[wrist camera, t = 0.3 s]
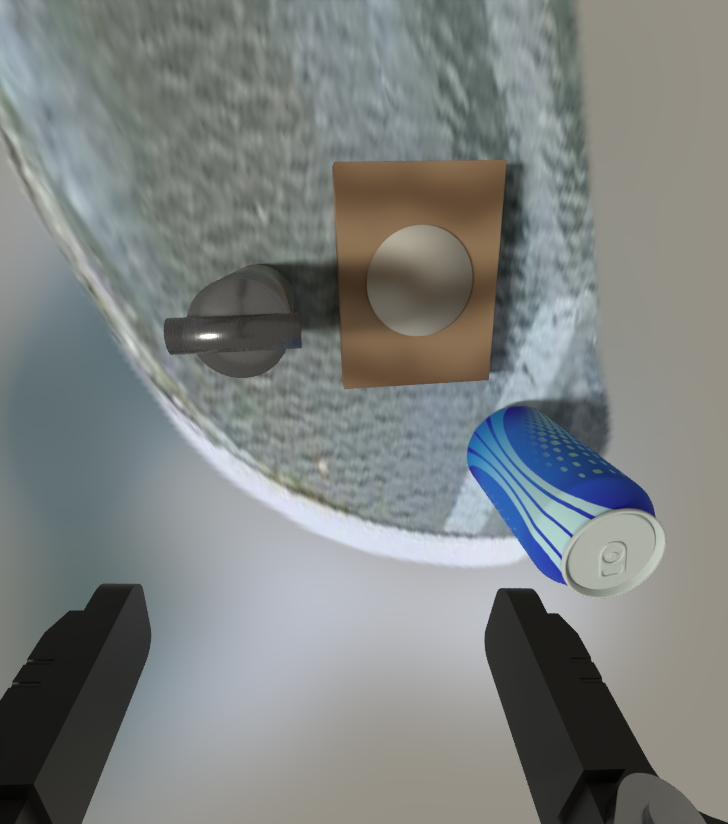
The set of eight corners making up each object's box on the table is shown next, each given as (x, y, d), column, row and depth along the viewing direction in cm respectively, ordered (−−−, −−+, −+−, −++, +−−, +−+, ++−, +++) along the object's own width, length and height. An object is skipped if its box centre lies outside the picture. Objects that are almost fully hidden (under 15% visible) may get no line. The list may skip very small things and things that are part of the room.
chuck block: (332, 166, 31) (334, 161, 29) (495, 164, 33) (507, 159, 31) (342, 381, 37) (344, 389, 35) (479, 373, 39) (489, 380, 36)
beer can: (445, 462, 41) (521, 587, 27) (494, 385, 39) (608, 476, 24) (514, 493, 44) (621, 625, 29) (565, 423, 41) (708, 526, 27)
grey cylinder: (213, 265, 33) (153, 284, 20) (300, 262, 33) (295, 278, 21) (223, 335, 35) (174, 392, 22) (305, 331, 35) (304, 384, 23)
